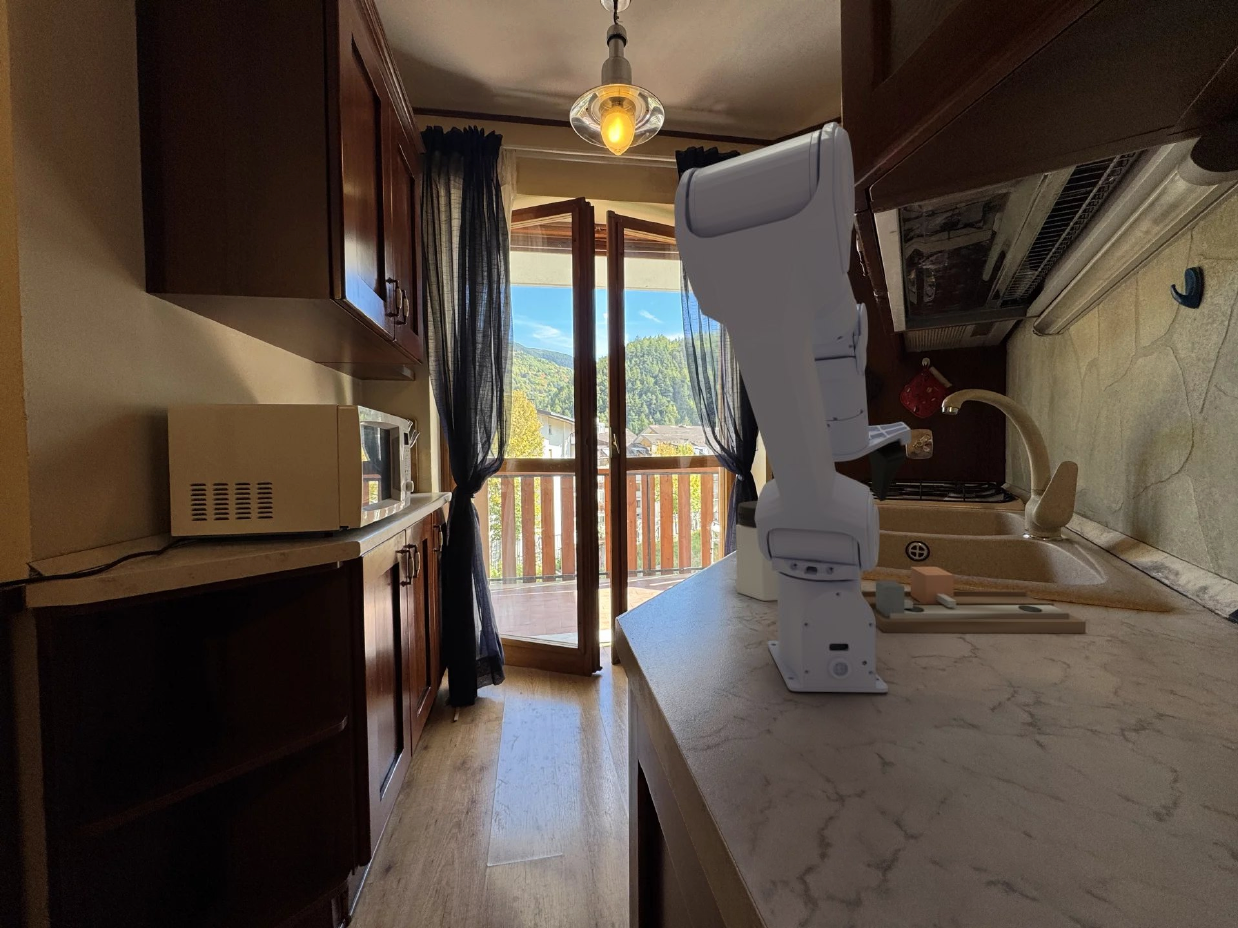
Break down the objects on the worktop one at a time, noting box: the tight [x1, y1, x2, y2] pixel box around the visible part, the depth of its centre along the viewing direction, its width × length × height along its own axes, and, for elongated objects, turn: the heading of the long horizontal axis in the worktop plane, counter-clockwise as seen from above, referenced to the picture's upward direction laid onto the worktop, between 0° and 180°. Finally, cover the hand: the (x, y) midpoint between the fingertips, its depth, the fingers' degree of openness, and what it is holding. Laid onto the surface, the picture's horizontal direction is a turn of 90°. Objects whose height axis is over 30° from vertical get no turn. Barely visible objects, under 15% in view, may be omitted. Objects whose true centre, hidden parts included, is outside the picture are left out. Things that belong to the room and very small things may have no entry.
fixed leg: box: [875, 579, 913, 619], centre depth 56 cm, size 2×3×4 cm
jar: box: [735, 500, 778, 602], centre depth 69 cm, size 9×8×12 cm
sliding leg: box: [910, 566, 956, 607], centre depth 58 cm, size 6×3×4 cm, turn 175°
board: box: [861, 590, 1087, 634], centre depth 57 cm, size 9×20×2 cm, turn 85°
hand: (848, 503), depth 63 cm, fingers open, 7 cm apart
